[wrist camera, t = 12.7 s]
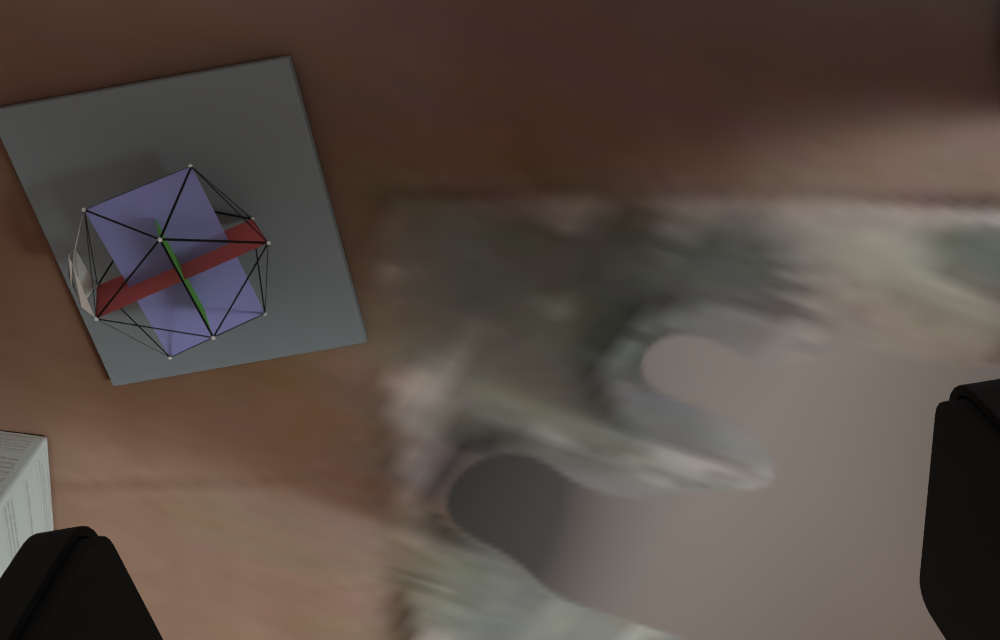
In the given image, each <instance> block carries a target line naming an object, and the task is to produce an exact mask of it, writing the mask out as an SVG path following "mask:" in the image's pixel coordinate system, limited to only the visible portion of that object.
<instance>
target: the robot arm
mask: <svg viewBox="0 0 1000 640" xmlns="http://www.w3.org/2000/svg"><path fill="white" fill-rule="evenodd" d="M920 588H921V593H922V596H923V600H924V602H925V605H926V608H927V609H928V611H929V613H930V615H931V616H932V618H933V620H934V621H935V623H936V624H937V626H938V628H939V629H940V631H941V632H942V634H943V636H944V637H945V639H946V640H1000V379H996V380H990V381H984V382H978V383H971V384H965V385H959V386H957V387H956V388H954V389H953V391H952V392H951V394H950V399H949V401H945V402H941V403H939V405H938V406H937V408H936V413H935V422H934V433H933V444H932V453H931V464H930V475H929V485H928V495H927V506H926V516H925V527H924V538H923V548H922V559H921V569H920ZM0 640H163V639H162V637H161V635H160V633H159V631H158V629H157V627H156V625H155V623H154V621H153V619H152V618H151V616H150V614H149V612H148V610H147V608H146V606H145V604H144V602H143V600H142V598H141V596H140V595H139V593H138V591H137V589H136V587H135V585H134V583H133V581H132V579H131V577H130V575H129V574H128V572H127V570H126V568H125V566H124V564H123V562H122V560H121V558H120V556H119V554H118V552H117V551H116V549H115V547H114V545H113V543H112V542H111V541H110V539H108V538H107V537H105V536H98V535H97V534H96V532H95V531H94V530H93V529H91V528H89V527H87V526H79V527H73V528H66V529H60V530H54V531H48V532H41V533H36V534H34V535H32V536H30V537H29V538H28V539H27V540H26V541H25V542H24V543H23V545H22V546H21V548H20V549H19V551H18V552H17V554H16V555H15V557H14V558H13V560H12V561H11V563H10V564H9V566H8V567H7V569H6V570H5V572H4V573H3V575H2V576H1V578H0Z"/></svg>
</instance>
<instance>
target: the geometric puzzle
mask: <svg viewBox="0 0 1000 640" xmlns="http://www.w3.org/2000/svg"><path fill="white" fill-rule="evenodd" d="M193 169H194V168H193V165H192V164H189V165H188V167H187V168H185V169H182V170H180V171H177V172H175V173H172V174H170V175H167V176H165V177H162V178H160V179H158V180H155V181H153V182H150V183H148V184H145V185H143V186H140V187H138V188H135V189H133V190H131V191H128V192H126V193H123V194H121V195H118V196H116V197H113V198H111V199H108V200H106V201H104V202H101V203H99V204H96V205H94V206H91V207H89V208H82V211H83V212H84V215H85V224H86V225H87V226H86V233H87V231H88V235H87V242H88V237H89V242H90V236H89V230H88V224H87V219H86V214H87V216H88V217H89V219H90V221H91V223H92V224H93V226H94V228H95V229H96V231H97V233H98V235H99V236H100V238H101V240H102V242H103V243H104V245H105V247H106V248H107V250H108V252H109V254H110V255H111V257H112V259H113V260H112V262H111V263H110V265H109V267H108V268H107V270H106V271H105V273H104V274H103V276H102V278H101V279H100V281H99V282H97V277H96V271H95V265H94V259H93V253H92V248H91V242H90V248H91V254H92V260H93V265H94V271H95V277H96V283H97V284H96V283H95V281H94V279H93V278H92V271H91V274H90V272H89V271H88V269H87V267H86V265H85V264H84V262H83V260H82V258H81V257H80V255H79V253H78V251H77V250H76V245H77V240H78V236H77V240H76V244H75V247H74V248H73V249H72V250H71V251H70V253H69V254H68V260H69V262H68V273H69V278H70V283H71V288H72V290H73V292H74V294H75V296H76V298H77V300H78V302H79V304H80V303H81V305H80V306H81V308H82V309H83V310H85V311H86V312H87V313H89V314H90V315H91V316H93V317H94V320H95V321H98V320H99V321H100V320H102V321H108V322H114V323H121V324H127V325H133V326H138V327H139V328H140V329H141V330H142V331H143V332H144V333H145V334H146V335H147V336H148V337H149V338H150V339H151V340H152V341H153V342H154V343H155V344H156V345H157V346H158V347H159V348H160V349H161V350H162V351H163V352H164V353H165V354H166V356H167V357H168V359H172V357H173V356H175V355H178V354H180V353H182V352H184V351H186V350H188V349H191V348H193V347H195V346H197V345H199V344H201V343H203V342H206V341H208V340H210V339H212V340H215V339H216V336H219V335H221V334H223V333H225V332H227V331H229V330H231V329H234V328H236V327H238V326H240V325H242V324H244V323H247V322H249V321H251V320H253V319H255V318H257V317H260V316H262V315H264V316H266V315H267V313H266V295H265V305H264V298H263V291H262V283H261V276H260V269H259V262H258V261H259V260H260V258H261V256H262V255H263V253H264V251H265V249H266V248H267V246H269V245H270V244H271V242H270V241H267V240H266V238H265V237H264V235H263V234H262V232H261V231H260V229H259V228H258V226H257V225H256V223H255V222H254V218H253V217H250V216H249V215H248V214H247V213H245V212H244V211H243V210H242V209H241V208H240V207H238V206H237V205H236V204H235V203H234V202H233V201H231V200H230V199H229V198H228V197H227V196H226V195H225V194H223V193H222V192H221V191H220V190H219V189H218V188H216V187H215V186H214V185H213V184H212V183H211V182H210V181H208V180H207V179H206V178H205V177H204V176H203V175H201V174H200V173H199V172H198V171H197V170H196V169H194V170H195V171H196V172H197V173H198V174H199V175H200V176H201V177H202V178H203V179H204V178H205V179H206V180H207V181H208V182H209V183H210V184H212V185H213V186H214V187H215V188H216V189H217V190H219V191H220V192H221V193H222V194H223V195H224V196H225V197H227V198H228V199H229V200H230V201H231V202H232V203H234V204H235V205H236V206H237V207H238V208H239V209H241V210H242V211H243V212H244V213H245V214H246V215H248V216H249V217H244V216H241V215H240V214H239V213H238V212H237V211H236V210H235V209H234V208H233V207H232V206H231V205H230V204H229V203H228V202H227V201H226V200H225V199H224V198H223V197H222V196H221V195H220V194H219V193H218V192H217V191H216V190H215V189H214V188H213V187H212V186H211V185H210V184H209V183H208V182H207V181H206V180H205V179H204V180H205V181H206V182H207V183H208V184H209V185H210V186H211V187H212V188H213V189H214V190H215V191H216V192H217V193H218V194H219V195H220V196H221V197H222V198H223V199H224V200H225V201H226V202H227V203H228V204H229V205H230V206H231V207H232V208H233V209H234V210H235V211H236V212H237V213H238V214H239V215H240V216H239V215H233V214H228V213H223V212H217V211H214V210H213V208H212V206H211V204H210V202H209V200H208V198H207V196H206V194H205V192H204V190H203V188H202V186H201V184H200V182H199V180H198V178H197V176H196V174H195V172H194V170H193ZM85 212H86V213H85ZM215 213H217V214H223V215H228V216H233V217H239V218H243V219H244V220H245V219H250V220H248V221H246V220H245V221H246V222H243V223H241V224H239V225H237V226H234V227H232V228H230V229H227V230H225V231H224V230H223V228H222V226H221V224H220V222H219V220H218V218H217V216H216V214H215ZM82 216H83V215H82ZM81 221H82V219H81ZM80 226H81V223H80ZM79 230H80V227H79ZM78 235H79V232H78ZM265 244H266V246H265V248H264V249H263V251H262V253H261V254H260V256H259V258H258V254H257V248H258V247H260V246H262V245H265ZM253 249H255V250H256V258H257V261H256V263H255V265H254V266H253V268H252V270H251V272H250V273H249V275H248V277H247V276H246V274H245V272H244V270H243V268H242V266H241V264H240V262H239V260H238V258H237V257H238V256H240V255H242V254H244V253H247V252H249V251H251V250H253ZM88 251H89V244H88ZM89 260H90V253H89ZM113 262H115V264H116V266H117V267H118V269H119V271H120V272H121V274H122V275H121V276H119V277H116V278H114V279H112V280H109V281H107V282H105V283H102V284H100V283H101V281H102V280H103V278H104V276H105V275H106V273H107V272H108V270H109V268H110V267H111V265H112V264H113ZM256 265H258V272H259V280H260V287H261V294H262V301H263V308H262V306H261V304H260V302H259V300H258V298H257V296H256V294H255V292H254V290H253V288H252V286H251V284H250V282H249V280H248V279H249V277H250V275H251V274H252V272H253V270H254V268H255V267H256ZM73 268H74V273H75V278H76V283H77V288H78V293H79V298H80V301H79V298H78V295H77V291H76V288H75V284H74V281H73ZM267 268H268V249H267ZM90 270H91V262H90ZM99 284H100V285H99ZM95 288H97V297H96V308H95V315H96V317H95V316H94V313H93V311H92V309H91V306H90V304H89V301H88V298H89V297H90V295H91V294H92V292H93V297H94V290H95ZM266 291H267V272H266ZM136 301H137V302H138V303H139V305H140V307H141V309H142V310H143V312H144V314H145V316H146V317H147V319H148V321H149V322H150V324H151V326H152V327H148V326H142V325H138V324H137V323H136V322H135V321H134V320H133V319H132V318H131V317H130V316H129V315H128V314H127V313H126V312H125V311H124V310H123V309H122V307H124V306H127V305H129V304H131V303H133V302H136ZM94 306H95V298H94ZM118 309H121V310H122V311H123V312H124V313H125V314H126V315H127V316H128V317H129V318H130V319H131V320H132V321H133V322H134V323H135V324H130V323H123V322H117V321H111V320H105V319H99V318H100V317H102V316H104V315H106V314H109V313H111V312H113V311H115V310H118ZM263 309H264V310H263ZM102 321H101V322H102ZM102 323H104V322H102ZM104 324H106V323H104ZM106 325H108V324H106ZM108 326H109V325H108ZM110 327H111V326H110ZM141 327H146V328H152V329H154V331H155V333H156V334H157V336H158V338H159V340H160V341H161V343H162V345H163V346H164V348H165V350H166V352H167V353H168V354H167V353H166V352H165V351H164V350H163V349H162V348H161V347H160V346H159V345H158V344H157V343H156V342H155V341H154V340H153V339H152V338H151V337H150V336H149V335H148V334H147V333H146V332H145V331H144V330H143V329H142V328H141ZM112 328H113V327H112ZM114 329H115V328H114ZM116 330H117V329H116ZM118 331H119V330H118ZM120 332H121V331H120ZM122 333H123V332H122ZM123 334H125V333H123ZM125 335H127V334H125ZM127 336H129V335H127ZM129 337H130V336H129ZM131 338H132V337H131ZM133 339H134V338H133ZM135 340H136V339H135ZM137 341H138V340H137ZM139 342H140V341H139ZM141 343H142V342H141ZM143 344H144V343H143ZM145 345H146V344H145ZM146 346H148V345H146ZM148 347H149V346H148ZM150 348H151V347H150ZM152 349H153V348H152ZM154 350H155V349H154ZM156 351H157V350H156ZM158 352H159V351H158ZM160 353H161V352H160ZM162 354H163V353H162ZM165 354H164V355H165Z"/></svg>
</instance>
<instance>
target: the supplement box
mask: <svg viewBox="0 0 1000 640" xmlns="http://www.w3.org/2000/svg"><path fill="white" fill-rule="evenodd" d="M48 531H54V530H53V514H52V500H51V487H50V473H49V459H48V445H47V438H46V437H42V436H36V435H27V434H20V433H12V432H3V431H0V578H1V576H2V575H3V573H4V572H5V570H6V569H7V567H8V566H9V564H10V563H11V561H12V560H13V558H14V557H15V555H16V554H17V552H18V551H19V549H20V548H21V546H22V545H23V543H24V542H25V541H26V540H27V539H28V538H29V537H30V536H32V535H34V534H36V533H41V532H48Z"/></svg>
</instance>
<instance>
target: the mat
mask: <svg viewBox="0 0 1000 640" xmlns="http://www.w3.org/2000/svg"><path fill="white" fill-rule="evenodd" d="M0 137H1V139H2V142H3V144H4V146H5V148H6V150H7V153H8V155H9V157H10V159H11V161H12V164H13V166H14V168H15V170H16V172H17V175H18V177H19V179H20V181H21V183H22V186H23V188H24V190H25V192H26V194H27V197H28V199H29V201H30V203H31V205H32V208H33V210H34V212H35V214H36V216H37V219H38V221H39V223H40V225H41V227H42V230H43V232H44V234H45V236H46V238H47V241H48V243H49V245H50V247H51V249H52V252H53V254H54V256H55V258H56V260H57V263H58V265H59V267H60V269H61V271H62V274H63V276H64V278H65V280H66V282H67V285H68V287H69V289H70V291H71V293H72V296H73V298H74V300H75V302H76V304H77V307H78V309H79V311H80V313H81V315H82V318H83V320H84V322H85V324H86V326H87V328H88V331H89V333H90V335H91V337H92V339H93V342H94V344H95V346H96V348H97V350H98V353H99V355H100V357H101V359H102V361H103V364H104V366H105V368H106V370H107V372H108V375H109V377H110V379H111V381H112V383H113V386H118V385H124V384H129V383H135V382H141V381H147V380H153V379H158V378H164V377H170V376H176V375H181V374H187V373H193V372H199V371H205V370H210V369H216V368H222V367H228V366H233V365H239V364H245V363H251V362H257V361H262V360H268V359H274V358H280V357H285V356H291V355H297V354H303V353H309V352H314V351H320V350H326V349H332V348H337V347H343V346H349V345H355V344H361V343H366V341H367V333H366V330H365V326H364V322H363V319H362V315H361V311H360V308H359V304H358V300H357V297H356V293H355V289H354V286H353V282H352V278H351V275H350V271H349V267H348V264H347V260H346V256H345V253H344V249H343V245H342V242H341V238H340V234H339V231H338V227H337V223H336V220H335V216H334V212H333V209H332V205H331V201H330V198H329V194H328V190H327V187H326V183H325V179H324V176H323V172H322V168H321V165H320V161H319V157H318V154H317V150H316V146H315V143H314V139H313V135H312V132H311V128H310V124H309V121H308V117H307V113H306V110H305V106H304V102H303V99H302V95H301V91H300V88H299V84H298V80H297V77H296V73H295V69H294V66H293V62H292V58H291V55H287V56H282V57H276V58H271V59H265V60H259V61H254V62H248V63H243V64H237V65H232V66H226V67H220V68H215V69H209V70H204V71H198V72H193V73H187V74H182V75H176V76H170V77H165V78H159V79H154V80H148V81H143V82H137V83H131V84H126V85H120V86H115V87H109V88H104V89H98V90H93V91H87V92H81V93H76V94H70V95H65V96H59V97H54V98H48V99H42V100H37V101H31V102H26V103H20V104H15V105H9V106H4V107H0ZM189 164H192V165H193V168H194V169H196V170H197V171H198V172H199V173H200V174H201V175H203V176H204V177H205V178H206V179H207V180H208V181H210V182H211V183H212V184H213V185H214V186H215V187H216V188H218V189H219V190H220V191H221V192H222V193H223V194H225V195H226V196H227V197H228V198H229V199H230V200H231V201H233V202H234V203H235V204H236V205H237V206H238V207H240V208H241V209H242V210H243V211H244V212H245V213H247V214H248V215H249V216H250V217H253V218H254V222H255V223H256V225H257V226H258V228H259V229H260V231H261V232H262V234H263V235H264V237H265V238H266V240H267V241H270V242H271V244H270V245H269V246H267V248H266V249H265V251H264V253H263V255H262V256H261V258H260V260H259V261H258V262H259V269H260V276H261V283H262V291H263V298H264V305H265V295H266V313H267V315H266V316H264V315H262V316H260V317H257V318H255V319H253V320H251V321H249V322H247V323H244V324H242V325H240V326H238V327H236V328H234V329H231V330H229V331H227V332H225V333H223V334H221V335H219V336H216V339H215V340H212V339H210V340H208V341H206V342H203V343H201V344H199V345H197V346H195V347H193V348H191V349H188V350H186V351H184V352H182V353H180V354H178V355H175V356H173V357H172V359H168V357H167V356H166V354H165V353H164V352H163V351H162V350H161V349H160V348H159V347H158V346H157V345H156V344H155V343H154V342H153V341H152V340H151V339H150V338H149V337H148V336H147V335H146V334H145V333H144V332H143V331H142V330H141V329H140V328H139V327H138V326H133V325H127V324H121V323H114V322H108V321H102V320H100V321H99V320H98V321H95V320H94V317H93V316H91V315H90V314H89V313H87V312H86V311H85V310H83V309H82V308H81V306H80V305H81V303H80V304H79V302H78V300H77V298H76V296H75V294H74V292H73V290H72V288H71V283H70V278H69V273H68V262H69V260H68V254H69V253H70V251H71V250H72V249H73V248H74V247H75V244H76V240H77V236H78V240H77V245H76V250H77V251H78V253H79V255H80V257H81V258H82V260H83V262H84V264H85V265H86V267H87V269H88V271H89V272H90V274H91V271H92V278H93V279H94V281H95V283H96V277H97V282H99V281H100V279H101V278H102V276H103V274H104V273H105V271H106V270H107V268H108V267H109V265H110V263H111V262H112V260H113V259H112V257H111V255H110V254H109V252H108V250H107V248H106V247H105V245H104V243H103V242H102V240H101V238H100V236H99V235H98V233H97V231H96V229H95V228H94V226H93V224H92V223H91V221H90V219H89V217H88V216H87V214H86V219H87V224H88V230H89V236H90V242H91V248H92V253H93V259H94V265H95V271H96V277H95V271H94V265H93V260H92V254H91V248H90V242H89V237H88V242H87V235H88V231H87V233H86V226H87V225H86V224H85V215H84V212H83V211H82V208H89V207H91V206H94V205H96V204H99V203H101V202H104V201H106V200H108V199H111V198H113V197H116V196H118V195H121V194H123V193H126V192H128V191H131V190H133V189H135V188H138V187H140V186H143V185H145V184H148V183H150V182H153V181H155V180H158V179H160V178H162V177H165V176H167V175H170V174H172V173H175V172H177V171H180V170H182V169H185V168H187V167H188V165H189ZM194 169H193V170H194ZM194 172H195V174H196V176H197V178H198V180H199V182H200V184H201V186H202V188H203V190H204V192H205V194H206V196H207V198H208V200H209V202H210V204H211V206H212V208H213V210H214V211H217V212H223V213H228V214H233V215H239V214H240V215H241V216H244V217H249V216H248V215H246V214H245V213H244V212H243V211H242V210H241V209H239V208H238V207H237V206H236V205H235V204H234V203H232V202H231V201H230V200H229V199H228V198H227V197H225V196H224V195H223V194H222V193H221V192H220V191H219V190H217V189H216V188H215V187H214V186H213V185H212V184H210V183H209V182H208V181H207V180H206V179H205V178H204V179H205V180H206V181H207V182H208V183H209V184H210V185H211V186H212V187H213V188H214V189H215V190H216V191H217V192H218V193H219V194H220V195H221V196H222V197H223V198H224V199H225V200H226V201H227V202H228V203H229V204H230V205H231V206H232V207H233V208H234V209H235V210H236V211H237V212H238V213H239V214H238V213H237V212H236V211H235V210H234V209H233V208H232V207H231V206H230V205H229V204H228V203H227V202H226V201H225V200H224V199H223V198H222V197H221V196H220V195H219V194H218V193H217V192H216V191H215V190H214V189H213V188H212V187H211V186H210V185H209V184H208V183H207V182H206V181H205V180H204V179H203V178H202V177H201V176H200V175H199V174H198V173H197V172H196V171H195V170H194ZM85 213H86V212H85ZM215 214H216V216H217V218H218V220H219V222H220V224H221V226H222V228H223V230H224V231H225V230H227V229H230V228H232V227H234V226H237V225H239V224H241V223H243V222H246V221H248V220H250V219H245V220H246V221H245V220H244V219H243V218H239V217H233V216H228V215H223V214H217V213H215ZM82 215H83V216H82ZM240 215H239V216H240ZM81 219H82V221H81ZM80 223H81V226H80ZM79 227H80V230H79ZM78 232H79V235H78ZM88 244H89V251H88ZM265 246H266V244H265V245H262V246H260V247H258V248H257V254H258V258H259V256H260V254H261V253H262V251H263V249H264V248H265ZM267 249H268V268H267ZM89 253H90V260H89ZM237 258H238V260H239V262H240V264H241V266H242V268H243V270H244V272H245V274H246V276H247V277H248V275H249V273H250V272H251V270H252V268H253V266H254V265H255V263H256V261H257V258H256V250H255V249H253V250H251V251H249V252H247V253H244V254H242V255H240V256H238V257H237ZM90 262H91V270H90ZM266 272H267V291H266ZM121 275H122V274H121V272H120V271H119V269H118V267H117V266H116V264H115V262H113V264H112V265H111V267H110V268H109V270H108V272H107V273H106V275H105V276H104V278H103V280H102V281H101V283H100V284H102V283H105V282H107V281H109V280H112V279H114V278H116V277H119V276H121ZM248 280H249V282H250V284H251V286H252V288H253V290H254V292H255V294H256V296H257V298H258V300H259V302H260V304H261V306H262V308H263V301H262V294H261V287H260V280H259V272H258V265H256V267H255V268H254V270H253V272H252V274H251V275H250V277H249V279H248ZM73 281H74V284H75V288H76V291H77V295H78V298H79V293H78V288H77V283H76V278H75V273H74V268H73ZM96 284H97V283H96ZM100 284H99V285H100ZM96 297H97V288H95V290H94V297H93V292H92V294H91V295H90V297H89V298H88V301H89V304H90V306H91V309H92V311H93V313H94V316H95V317H96V315H95V308H96ZM94 298H95V306H94ZM79 301H80V298H79ZM122 309H123V310H124V311H125V312H126V313H127V314H128V315H129V316H130V317H131V318H132V319H133V320H134V321H135V322H136V323H137V324H138V325H142V326H148V327H152V326H151V324H150V322H149V321H148V319H147V317H146V316H145V314H144V312H143V310H142V309H141V307H140V305H139V303H138V302H137V301H136V302H133V303H131V304H129V305H127V306H124V307H122ZM263 310H264V309H263ZM99 319H105V320H111V321H117V322H123V323H130V324H135V323H134V322H133V321H132V320H131V319H130V318H129V317H128V316H127V315H126V314H125V313H124V312H123V311H122V310H121V309H118V310H115V311H113V312H111V313H109V314H106V315H104V316H102V317H100V318H99ZM101 321H102V322H104V323H106V324H108V325H109V326H108V325H106V324H104V323H102V322H101ZM110 326H111V327H110ZM112 327H113V328H112ZM114 328H115V329H114ZM141 328H142V329H143V330H144V331H145V332H146V333H147V334H148V335H149V336H150V337H151V338H152V339H153V340H154V341H155V342H156V343H157V344H158V345H159V346H160V347H161V348H162V349H163V350H164V351H165V352H166V350H165V348H164V346H163V345H162V343H161V341H160V340H159V338H158V336H157V334H156V333H155V331H154V329H152V328H146V327H141ZM116 329H117V330H116ZM118 330H119V331H118ZM120 331H121V332H120ZM122 332H123V333H125V334H127V335H129V336H130V337H129V336H127V335H125V334H123V333H122ZM131 337H132V338H131ZM133 338H134V339H133ZM135 339H136V340H135ZM137 340H138V341H137ZM139 341H140V342H139ZM141 342H142V343H141ZM143 343H144V344H143ZM145 344H146V345H148V346H149V347H148V346H146V345H145ZM150 347H151V348H150ZM152 348H153V349H152ZM154 349H155V350H154ZM156 350H157V351H156ZM158 351H159V352H158ZM160 352H161V353H160ZM162 353H163V354H162ZM166 353H167V352H166ZM164 354H165V355H164ZM167 354H168V353H167Z"/></svg>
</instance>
